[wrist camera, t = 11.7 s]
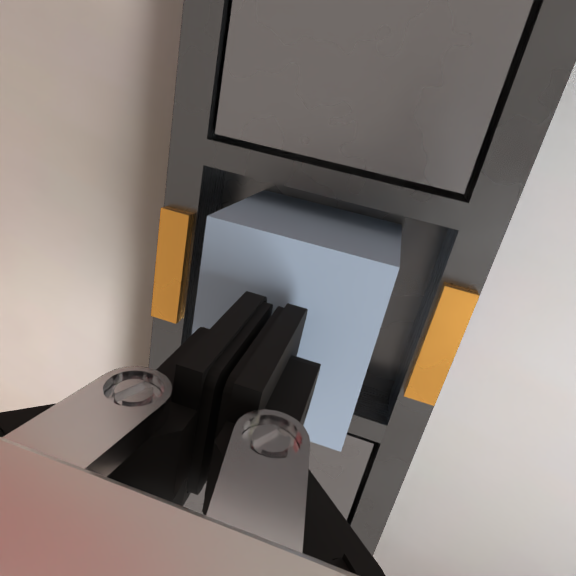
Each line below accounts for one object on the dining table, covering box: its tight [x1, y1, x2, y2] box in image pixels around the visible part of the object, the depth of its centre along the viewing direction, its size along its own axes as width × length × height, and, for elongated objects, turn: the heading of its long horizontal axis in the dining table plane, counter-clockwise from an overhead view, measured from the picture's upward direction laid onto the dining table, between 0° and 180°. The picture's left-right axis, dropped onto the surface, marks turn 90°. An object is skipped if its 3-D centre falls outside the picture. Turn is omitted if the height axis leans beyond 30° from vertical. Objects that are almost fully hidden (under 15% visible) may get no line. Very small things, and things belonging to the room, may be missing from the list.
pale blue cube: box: [192, 190, 402, 452], centre depth 14 cm, size 5×6×5 cm
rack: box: [149, 0, 576, 556], centre depth 16 cm, size 10×25×3 cm, turn 168°
